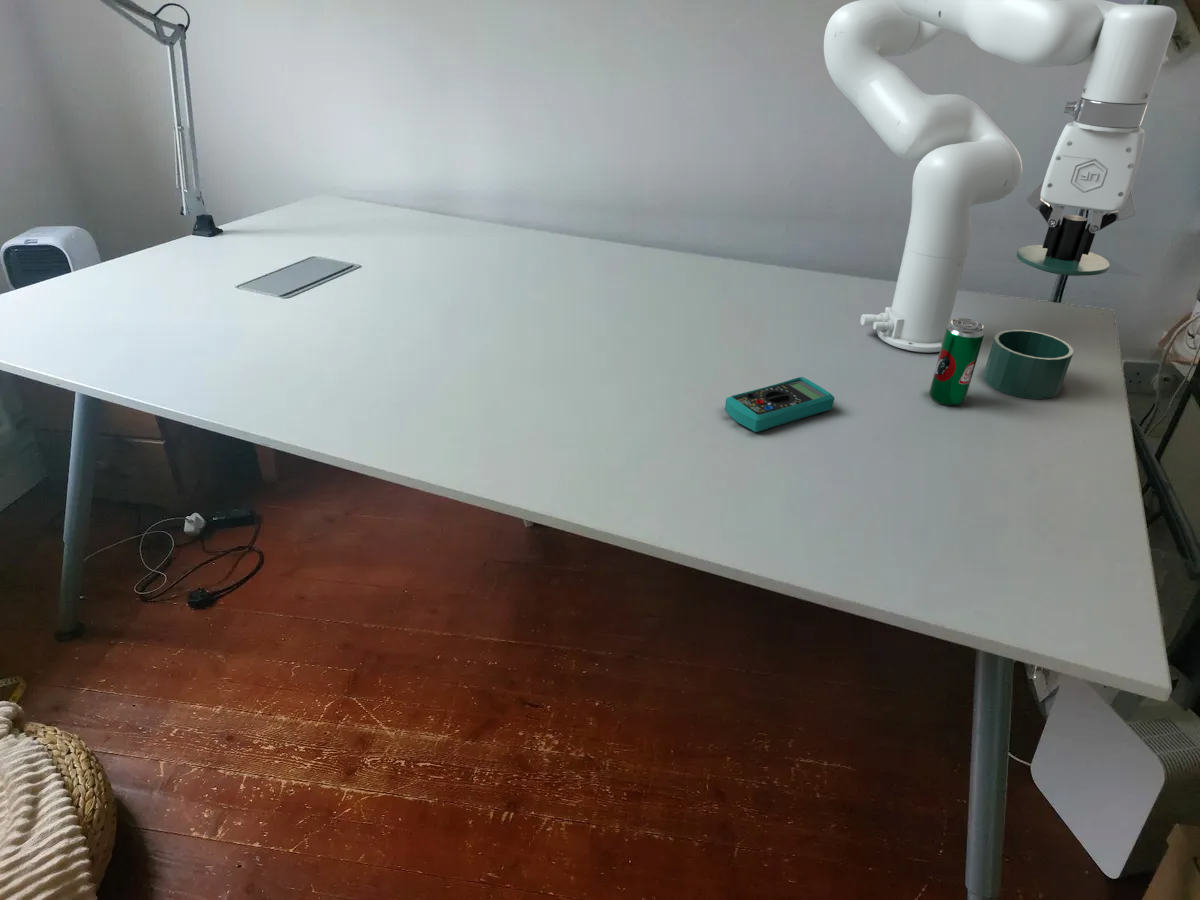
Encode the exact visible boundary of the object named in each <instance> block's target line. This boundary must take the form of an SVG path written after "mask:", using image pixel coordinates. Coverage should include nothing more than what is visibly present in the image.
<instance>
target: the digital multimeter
mask: <svg viewBox="0 0 1200 900" xmlns="http://www.w3.org/2000/svg"><path fill="white" fill-rule="evenodd" d="M834 403H835V396H834V395H833V394H832V393H831V392H829V391H828V390H826V389H824V388H823V387H821V386H820V385H818V384H816V383H815V382H813V381H811V380H809V379H807V378H806V377H803V376H799V377H795V378H792V379H789V380H785V381H783V382H778V383H775V384H772V385H768V386H764V387H761V388H757V389H752V390H748V391H745V392H742V393H737V394H733V395H730V396H728V397H726V398H725V403H724V404H725V405H724V411H725V412H726V414H728V415H729V417H731V419H733V420H734V421H735V422H737V423H738V424H740V425H742V426H743V427H745V428H746V429H749V430H750V431H752V432H754V433H759V432H763V431H765V430H768V429H772V428H775V427H779V426H781V425H785V424H789V423H791V422H794V421H795V422H796V421H798V420H801V419H802V420H803V419H805V418H808V417H811V416H814V415H818V414H821V413H824V412H827V411H830V410H832V409H833V408H834Z"/></svg>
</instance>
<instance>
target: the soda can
mask: <svg viewBox="0 0 1200 900" xmlns="http://www.w3.org/2000/svg"><path fill="white" fill-rule="evenodd" d="M984 336H985V332H984V324H982V323H981V322H979V321H977V320H974V319H971V318H963V317H958V318H953V319H950V322H949V325H948V326H947V327H946V330H945V334H944V338H943V342H942V345H941V349H940V352H938V358H937V361H936V365H935V369H934V371H933V377H932V381H931V384H930V387H929V392H928V394H929V396H930V398H931V400H933V401H934V402H935V403H937V404H940V405H941V406H949V407H955V406H959V405H961V404H963V403H965V401H966V399H967V395H968V392H969V389H970V385H971V382H972V378H973V375H974V371H975V368H976V365H977V361H978V357H979V354H980V351H981V347H982V345H983V341H984Z"/></svg>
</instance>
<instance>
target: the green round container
mask: <svg viewBox="0 0 1200 900" xmlns="http://www.w3.org/2000/svg"><path fill="white" fill-rule="evenodd" d="M1074 351H1075V350H1074V349H1073V347H1072V346H1071V344H1069V343H1068V342H1067V341H1065V340H1063V339H1061V338H1059V337H1056V336H1054V335H1050V334H1047V333H1043V332H1040V331H1034V330H1027V329H1008V330H1007V329H1006V330H1001V331H999V332H998V333H995V335H994V337H993V339H992V343H991V347H990V350H989V353H988V357H987V361H986V364H985V367H984V371H983V375H982V377H983V380H984V382H985V383H986V384H987V385H988V386H990V387H991V388H993V389H994V390H997V391H998V392H1001V393H1003V394H1006V395H1009V396H1013V397H1017V398H1021V399H1029V400H1046V399H1050V398H1054V397H1056V396H1057V395H1058V394H1059V393H1060V391H1061V389H1062V386H1063V383H1064V381H1065V377H1066V375H1067V372H1068V369H1069V366H1070V363H1071V361H1072V358H1073V355H1074Z"/></svg>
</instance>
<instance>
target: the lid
mask: <svg viewBox="0 0 1200 900" xmlns="http://www.w3.org/2000/svg"><path fill="white" fill-rule="evenodd" d="M1088 220H1089V219H1088V218H1087V217H1085V216H1081V215H1076V214H1066V215H1063V217H1062V219H1061V222H1060V225H1061V226H1060V230H1059V233H1058V236H1057V240H1056V243H1055V246H1054V249H1053V252H1052V255H1051V256H1049V257H1048V256H1046V252H1047V248H1042V247H1043V244H1030V245H1025V246H1022V247H1020V248H1019V249H1018V250H1017V252H1016V258H1017V259H1018V260H1019V261H1020V262H1021V263H1023V264H1025V265H1027V266H1029V267H1032V268H1034V269H1037V270H1040V271H1042V272H1046V273H1050V274H1054V275H1059V276H1060V275H1061V276H1072V277H1081V276H1083V277H1085V276H1097V275H1102V274H1105V273H1107V272H1108V271H1109V268H1110V265H1111V263H1110V262H1109V261H1108V260H1107V259H1106V258H1105V257H1103V256H1101V255H1100V254H1097V253H1094V252H1091V251H1089V254H1088V255H1085V254H1082V257H1081V260H1080V262H1079V261H1076V260H1075V257H1076V254H1077V251H1078V248H1079V245H1080V242H1081V239H1082V236H1083V233H1084V230H1085V228H1087V225H1088Z"/></svg>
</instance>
